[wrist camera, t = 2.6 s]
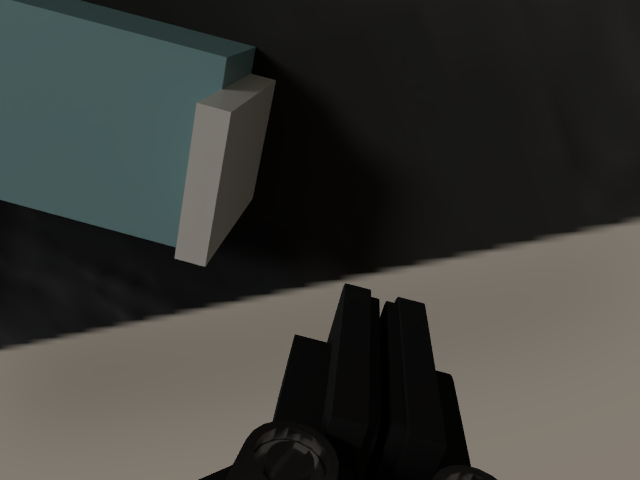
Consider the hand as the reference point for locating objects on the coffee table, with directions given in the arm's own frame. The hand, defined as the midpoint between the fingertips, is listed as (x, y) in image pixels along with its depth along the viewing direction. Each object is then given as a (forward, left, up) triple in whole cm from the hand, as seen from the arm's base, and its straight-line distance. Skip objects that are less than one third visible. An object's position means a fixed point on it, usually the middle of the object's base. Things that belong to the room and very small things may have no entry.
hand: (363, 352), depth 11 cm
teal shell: (+13, 0, -12) cm, 18 cm away
